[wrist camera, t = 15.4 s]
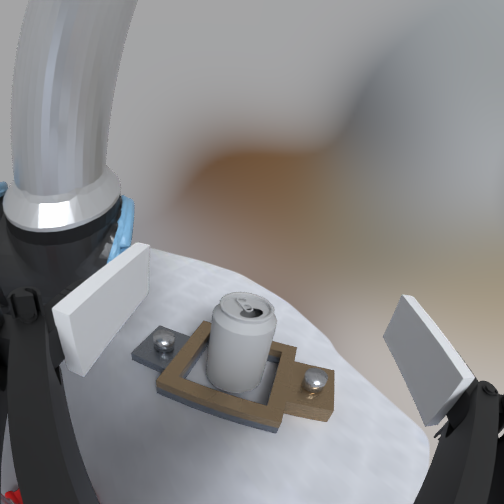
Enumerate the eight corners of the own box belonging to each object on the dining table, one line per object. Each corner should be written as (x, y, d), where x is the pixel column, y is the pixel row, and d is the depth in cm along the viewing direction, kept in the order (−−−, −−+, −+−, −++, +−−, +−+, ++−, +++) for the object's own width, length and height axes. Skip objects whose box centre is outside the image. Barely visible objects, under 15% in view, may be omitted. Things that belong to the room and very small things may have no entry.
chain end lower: (118, 373, 30) (115, 357, 29) (169, 321, 44) (170, 306, 43) (276, 433, 27) (282, 419, 26) (292, 358, 41) (297, 344, 40)
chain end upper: (157, 392, 29) (155, 369, 28) (202, 332, 43) (204, 311, 42) (325, 443, 26) (338, 423, 24) (329, 367, 39) (338, 346, 38)
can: (223, 404, 30) (237, 329, 26) (196, 366, 35) (202, 292, 31) (271, 386, 34) (293, 314, 30) (241, 354, 40) (255, 284, 36)
